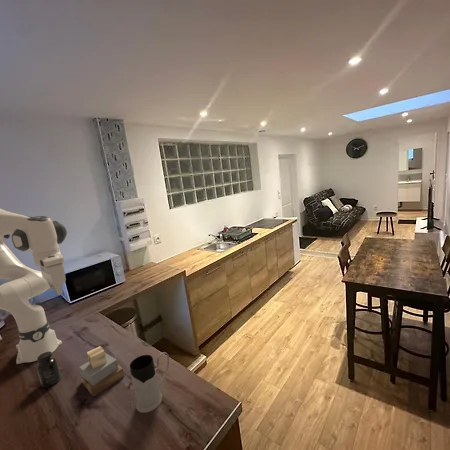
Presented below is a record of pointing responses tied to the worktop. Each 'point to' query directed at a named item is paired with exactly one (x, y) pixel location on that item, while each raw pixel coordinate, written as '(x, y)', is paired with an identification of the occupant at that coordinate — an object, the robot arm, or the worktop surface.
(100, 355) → the birch block
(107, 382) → the walnut base slab
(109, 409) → the worktop surface
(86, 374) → the slate top slab
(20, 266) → the robot arm
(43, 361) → the supplement bottle
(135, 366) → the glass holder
